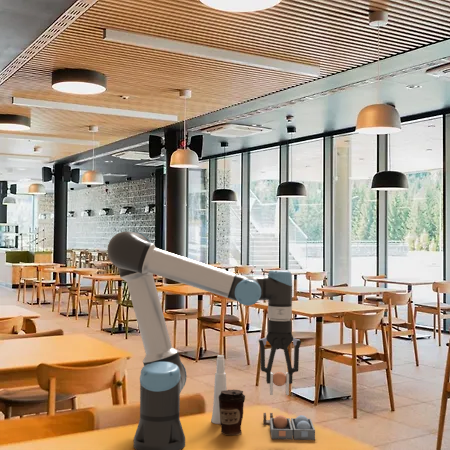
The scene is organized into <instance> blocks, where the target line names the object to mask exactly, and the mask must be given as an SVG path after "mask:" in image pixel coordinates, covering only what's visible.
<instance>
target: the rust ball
mask: <svg viewBox="0 0 450 450" xmlns="http://www.w3.org/2000/svg"><path fill="white" fill-rule="evenodd" d="M273 418H274V426H275V427H276V428H277V429H284V428H285V427H286V426H287V419H286V416H284V415H282V414H278V415H276V416H275V417H273Z"/></svg>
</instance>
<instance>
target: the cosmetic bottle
mask: <svg viewBox="0 0 450 450" xmlns="http://www.w3.org/2000/svg"><path fill="white" fill-rule="evenodd" d="M215 364H216V367H215V368H216V372H215V374H214V387H213V389H214V390H213V403H212V404H213V405H212V414H211V420H210V421H211V423H213V424H216V425H221V423H220V410H219V395H220V394H221V391H225V390H228V388H227V373H226V372H225V370H226V368H225V367H226V365H225V364H226V359H225V355H224V354H220V355H219V354H218V355H217V358H216V363H215Z"/></svg>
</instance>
